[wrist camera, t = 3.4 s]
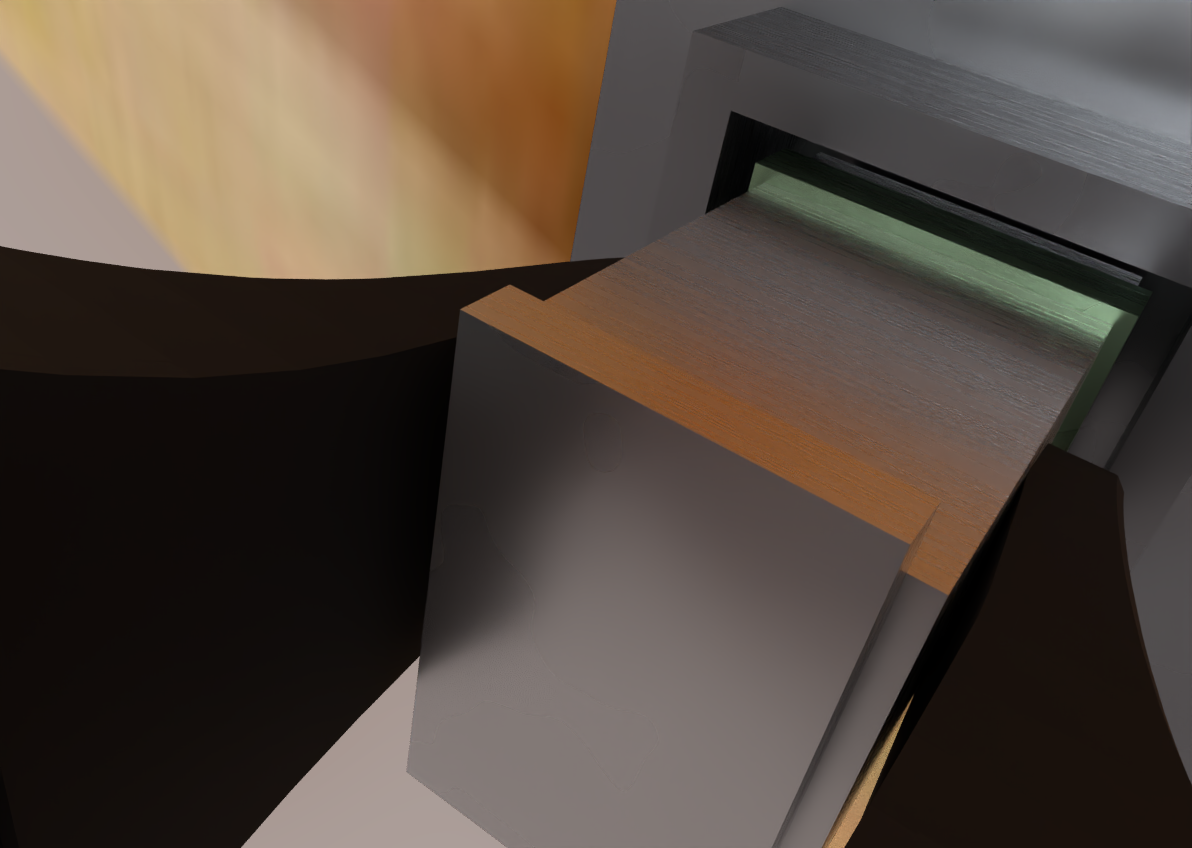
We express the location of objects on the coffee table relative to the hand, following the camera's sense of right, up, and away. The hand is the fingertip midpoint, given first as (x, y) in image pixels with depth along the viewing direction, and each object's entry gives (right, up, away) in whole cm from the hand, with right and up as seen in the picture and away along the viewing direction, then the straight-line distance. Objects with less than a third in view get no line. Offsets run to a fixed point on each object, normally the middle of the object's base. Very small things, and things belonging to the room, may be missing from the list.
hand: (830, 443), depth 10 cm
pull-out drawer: (+1, +1, +2) cm, 2 cm away
